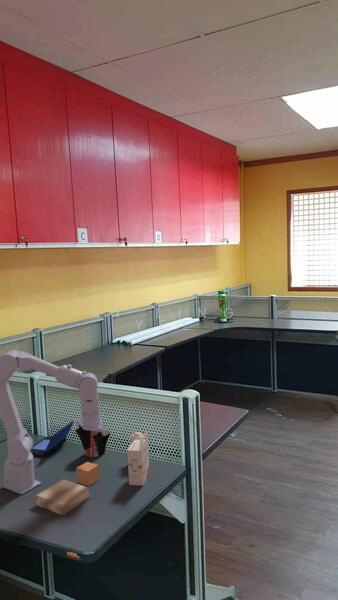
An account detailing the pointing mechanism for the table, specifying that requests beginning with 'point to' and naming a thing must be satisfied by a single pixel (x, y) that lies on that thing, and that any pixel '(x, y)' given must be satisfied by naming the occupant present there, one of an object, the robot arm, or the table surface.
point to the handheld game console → (51, 442)
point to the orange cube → (87, 473)
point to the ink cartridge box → (138, 461)
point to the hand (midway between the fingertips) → (94, 451)
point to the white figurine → (136, 436)
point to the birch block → (62, 496)
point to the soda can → (92, 447)
